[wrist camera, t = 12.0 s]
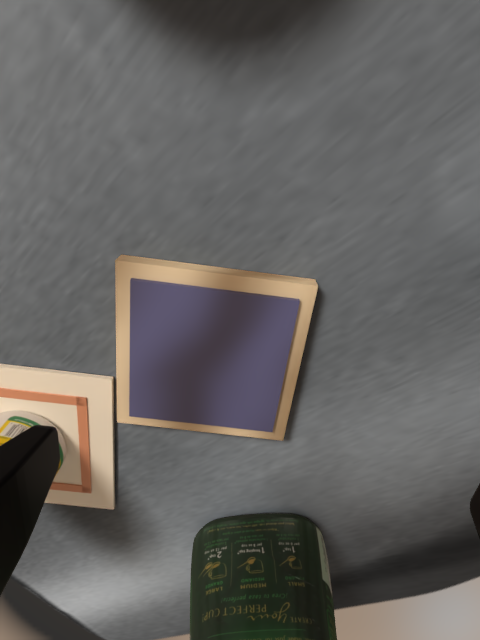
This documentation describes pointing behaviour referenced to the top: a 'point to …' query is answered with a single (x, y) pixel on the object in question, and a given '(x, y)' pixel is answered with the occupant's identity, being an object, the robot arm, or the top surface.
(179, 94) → the top surface
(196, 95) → the top surface
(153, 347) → the ink pad
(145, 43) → the top surface
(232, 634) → the coffee jar
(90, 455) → the print card
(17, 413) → the supplement bottle
